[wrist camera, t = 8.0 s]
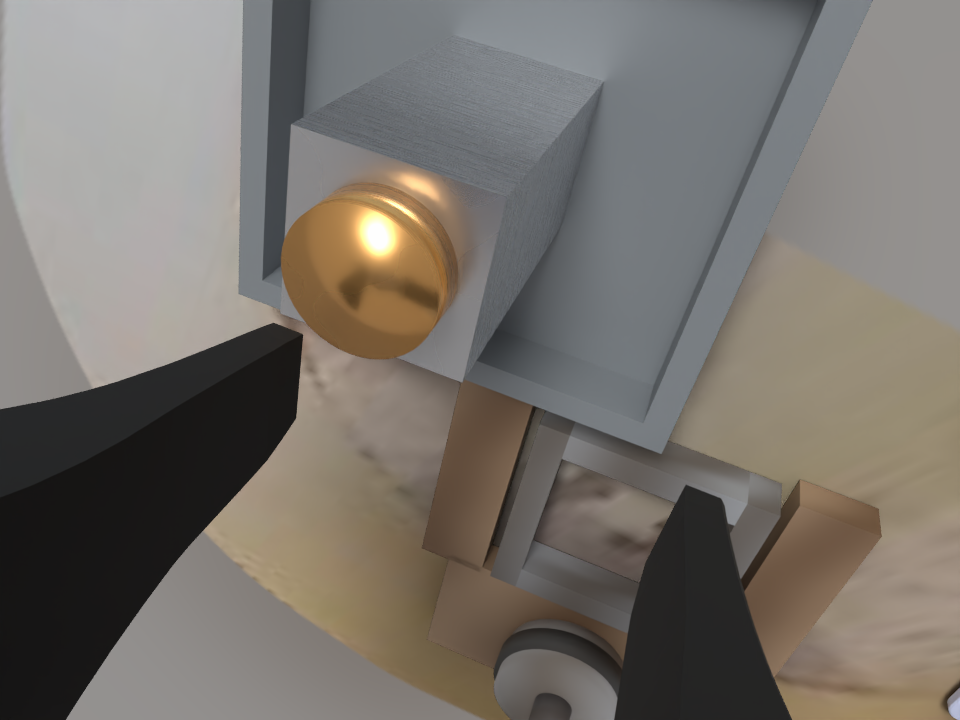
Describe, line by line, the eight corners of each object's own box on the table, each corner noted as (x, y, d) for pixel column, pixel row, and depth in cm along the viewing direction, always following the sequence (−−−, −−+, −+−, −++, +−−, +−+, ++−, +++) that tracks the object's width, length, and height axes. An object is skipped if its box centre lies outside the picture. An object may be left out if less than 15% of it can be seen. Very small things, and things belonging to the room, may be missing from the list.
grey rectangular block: (603, 81, 19) (487, 220, 12) (561, 225, 22) (443, 412, 15) (453, 34, 20) (259, 141, 13) (428, 179, 22) (253, 337, 15)
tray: (897, -92, 16) (910, -82, 14) (673, 404, 24) (661, 454, 22) (307, -243, 18) (246, -254, 16) (280, 260, 26) (238, 293, 24)
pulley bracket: (878, 508, 24) (891, 622, 20) (710, 736, 32) (699, 845, 29) (474, 357, 26) (423, 438, 22) (413, 608, 34) (369, 695, 31)
